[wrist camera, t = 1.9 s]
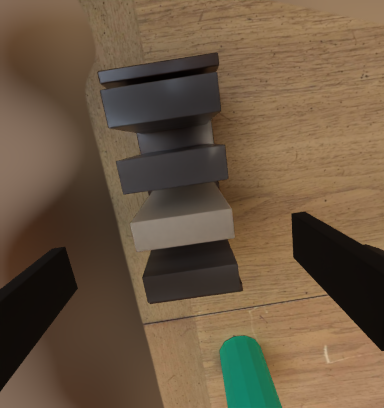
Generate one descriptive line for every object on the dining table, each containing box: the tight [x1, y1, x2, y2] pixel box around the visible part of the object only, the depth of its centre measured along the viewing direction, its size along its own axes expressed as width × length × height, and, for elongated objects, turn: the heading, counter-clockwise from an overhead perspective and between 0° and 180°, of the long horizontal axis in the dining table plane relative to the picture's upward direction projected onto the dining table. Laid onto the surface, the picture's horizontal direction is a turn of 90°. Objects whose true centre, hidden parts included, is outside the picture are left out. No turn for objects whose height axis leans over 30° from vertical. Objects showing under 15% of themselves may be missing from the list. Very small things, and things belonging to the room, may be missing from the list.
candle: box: [220, 336, 282, 408], centre depth 28 cm, size 6×6×12 cm
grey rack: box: [98, 53, 243, 304], centre depth 22 cm, size 18×8×12 cm, turn 8°
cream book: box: [130, 182, 235, 252], centre depth 22 cm, size 2×7×11 cm, turn 98°
